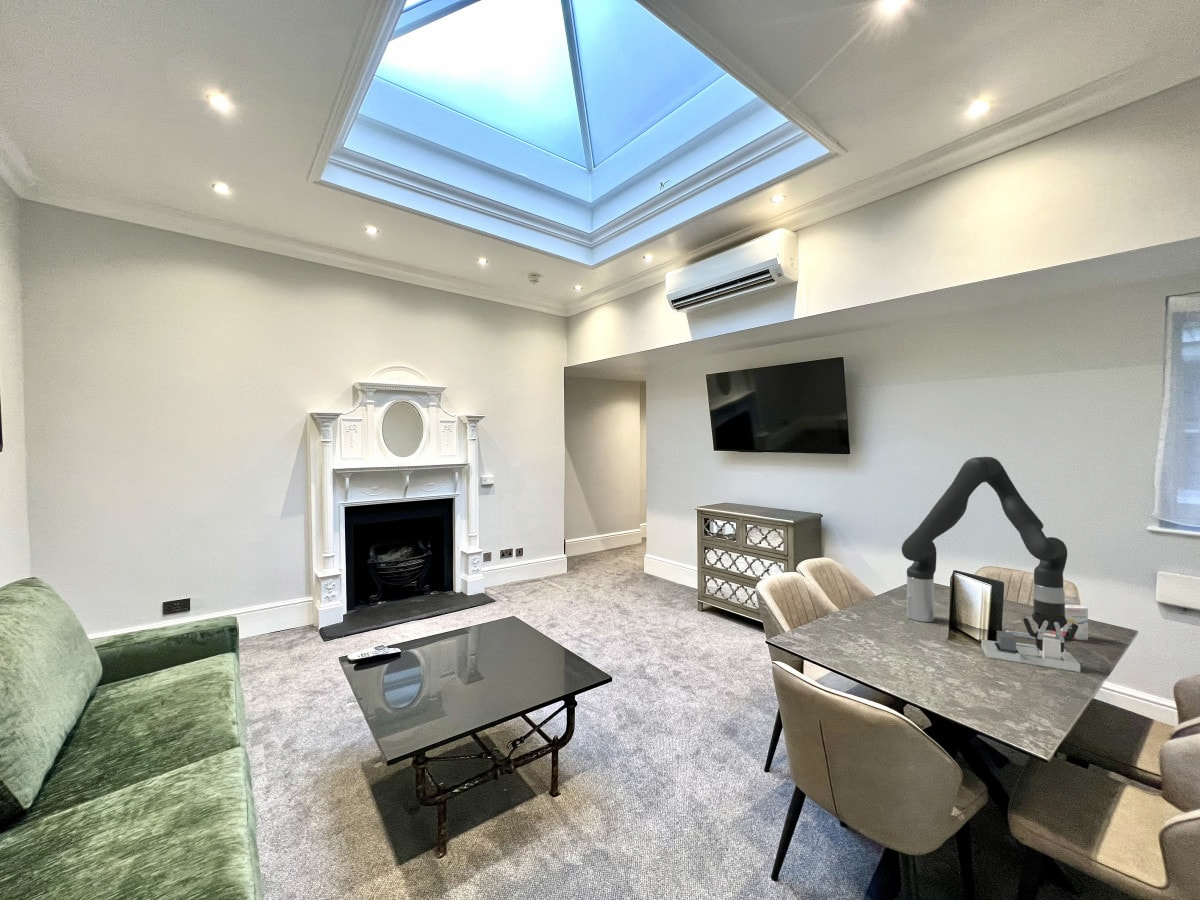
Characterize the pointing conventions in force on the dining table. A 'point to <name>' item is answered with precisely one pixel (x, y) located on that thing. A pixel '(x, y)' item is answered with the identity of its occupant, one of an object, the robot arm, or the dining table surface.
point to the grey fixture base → (1025, 653)
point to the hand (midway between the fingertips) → (1049, 651)
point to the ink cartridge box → (1076, 618)
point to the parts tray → (1021, 634)
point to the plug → (1051, 647)
